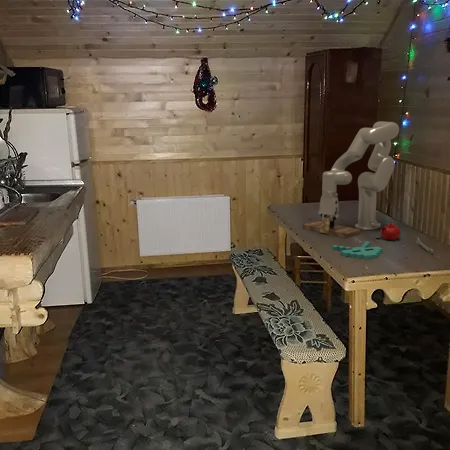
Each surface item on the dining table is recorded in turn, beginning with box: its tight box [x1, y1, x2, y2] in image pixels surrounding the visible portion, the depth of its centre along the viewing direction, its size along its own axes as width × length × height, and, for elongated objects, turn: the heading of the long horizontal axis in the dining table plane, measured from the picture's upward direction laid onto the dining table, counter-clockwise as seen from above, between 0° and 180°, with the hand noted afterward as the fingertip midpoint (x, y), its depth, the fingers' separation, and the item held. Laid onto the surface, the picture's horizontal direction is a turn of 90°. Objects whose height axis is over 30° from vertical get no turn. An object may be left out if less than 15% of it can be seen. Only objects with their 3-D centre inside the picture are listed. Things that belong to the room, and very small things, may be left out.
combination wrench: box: [415, 237, 434, 255], centre depth 257 cm, size 4×1×20 cm
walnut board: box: [302, 220, 361, 239], centre depth 293 cm, size 30×12×3 cm, turn 41°
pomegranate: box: [380, 221, 401, 241], centre depth 275 cm, size 10×10×9 cm
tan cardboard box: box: [319, 215, 336, 235], centre depth 289 cm, size 5×7×8 cm
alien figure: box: [331, 241, 384, 260], centre depth 254 cm, size 20×2×20 cm
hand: (328, 226), depth 289 cm, fingers closed on tan cardboard box, 4 cm apart
